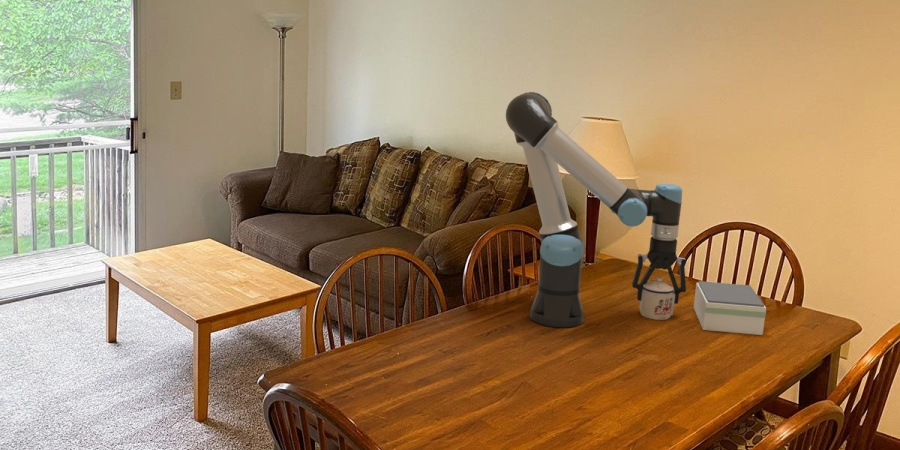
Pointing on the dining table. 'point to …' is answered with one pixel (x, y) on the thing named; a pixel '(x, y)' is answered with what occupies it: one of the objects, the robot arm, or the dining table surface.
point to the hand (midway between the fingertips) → (656, 312)
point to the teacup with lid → (657, 299)
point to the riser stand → (729, 308)
